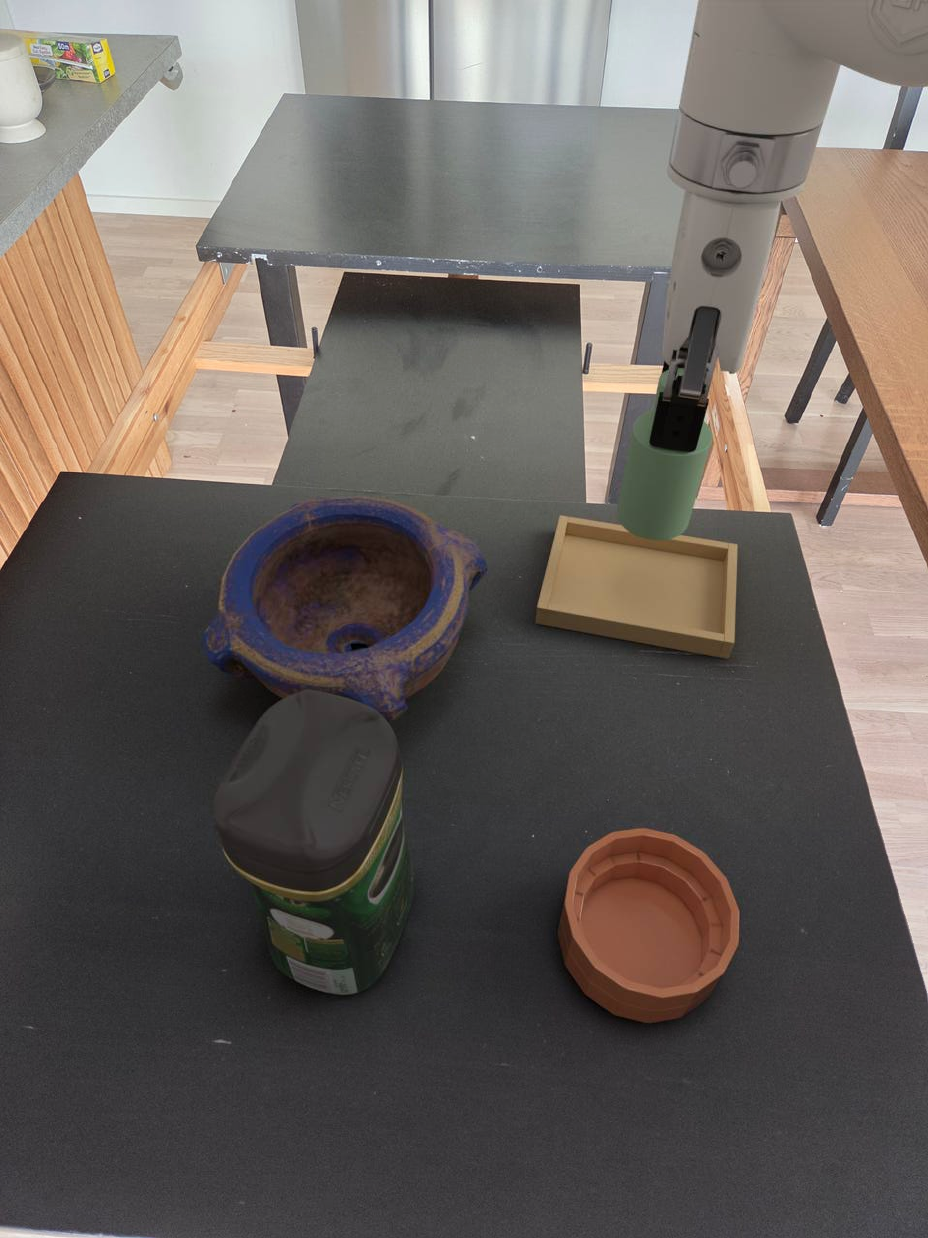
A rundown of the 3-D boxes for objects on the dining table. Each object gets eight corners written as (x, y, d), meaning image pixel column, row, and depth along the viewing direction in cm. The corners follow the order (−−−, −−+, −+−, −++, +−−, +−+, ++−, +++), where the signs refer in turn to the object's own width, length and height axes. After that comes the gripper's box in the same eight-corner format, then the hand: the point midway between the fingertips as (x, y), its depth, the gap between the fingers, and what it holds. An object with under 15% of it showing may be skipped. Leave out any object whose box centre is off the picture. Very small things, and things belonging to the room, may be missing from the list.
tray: (732, 560, 74) (737, 544, 73) (728, 659, 67) (734, 643, 65) (557, 531, 77) (559, 514, 75) (535, 623, 69) (536, 607, 68)
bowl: (190, 700, 64) (155, 611, 56) (319, 553, 74) (304, 462, 67) (398, 793, 58) (390, 709, 51) (504, 621, 69) (510, 530, 62)
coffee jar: (318, 833, 56) (274, 657, 43) (429, 868, 55) (421, 697, 41) (249, 973, 50) (173, 821, 36) (373, 1018, 49) (341, 875, 35)
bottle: (690, 499, 67) (728, 365, 58) (686, 546, 64) (725, 411, 55) (620, 488, 68) (646, 354, 59) (612, 533, 64) (639, 398, 55)
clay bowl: (721, 884, 54) (740, 848, 51) (715, 1044, 48) (737, 1016, 44) (570, 851, 56) (579, 813, 52) (545, 1001, 49) (553, 971, 46)
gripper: (818, 219, 40) (724, 512, 54) (807, 105, 51) (731, 374, 64) (660, 201, 41) (606, 493, 55) (682, 94, 52) (633, 360, 66)
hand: (674, 427), depth 59 cm, fingers closed on bottle, 3 cm apart
